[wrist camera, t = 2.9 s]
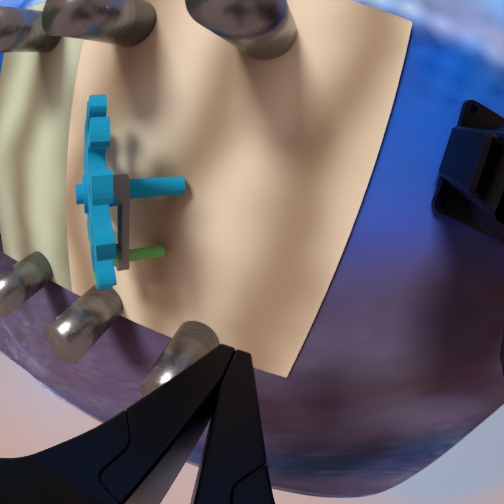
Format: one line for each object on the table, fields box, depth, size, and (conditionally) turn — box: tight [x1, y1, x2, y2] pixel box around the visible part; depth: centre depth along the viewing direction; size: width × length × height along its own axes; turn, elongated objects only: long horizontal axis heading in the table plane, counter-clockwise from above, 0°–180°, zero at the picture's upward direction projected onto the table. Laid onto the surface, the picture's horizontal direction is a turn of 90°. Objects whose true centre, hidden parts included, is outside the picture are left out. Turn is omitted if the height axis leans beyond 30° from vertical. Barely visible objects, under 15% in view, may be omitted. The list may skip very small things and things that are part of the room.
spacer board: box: [0, 0, 412, 378], centre depth 18 cm, size 30×24×1 cm
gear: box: [75, 94, 185, 291], centre depth 16 cm, size 11×6×10 cm
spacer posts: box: [0, 0, 297, 397], centre depth 15 cm, size 19×23×6 cm
